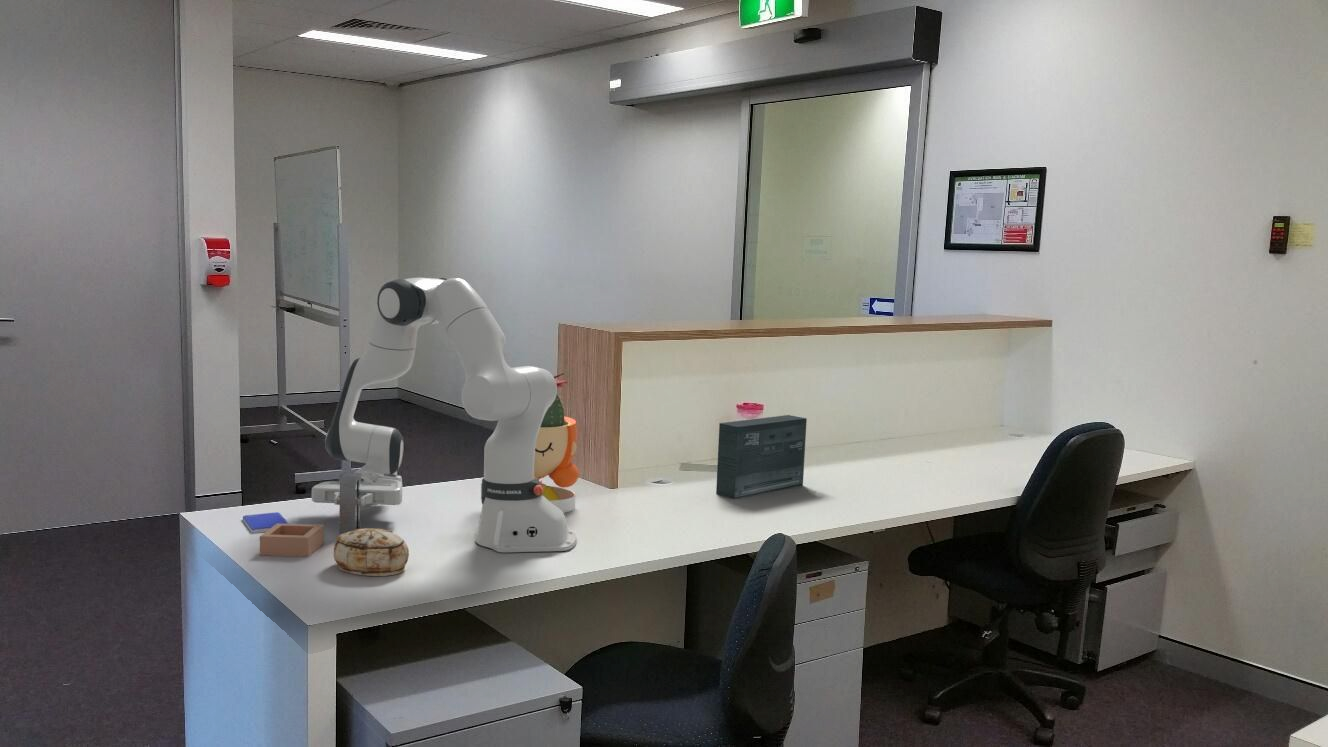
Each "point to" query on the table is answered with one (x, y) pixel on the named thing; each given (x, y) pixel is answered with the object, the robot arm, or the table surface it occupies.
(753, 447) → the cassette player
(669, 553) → the table surface
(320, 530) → the holder
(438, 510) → the table surface
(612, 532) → the table surface
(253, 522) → the hard drive
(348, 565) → the trinket box
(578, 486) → the table surface
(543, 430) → the potted cactus
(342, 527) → the grey chimney stack
